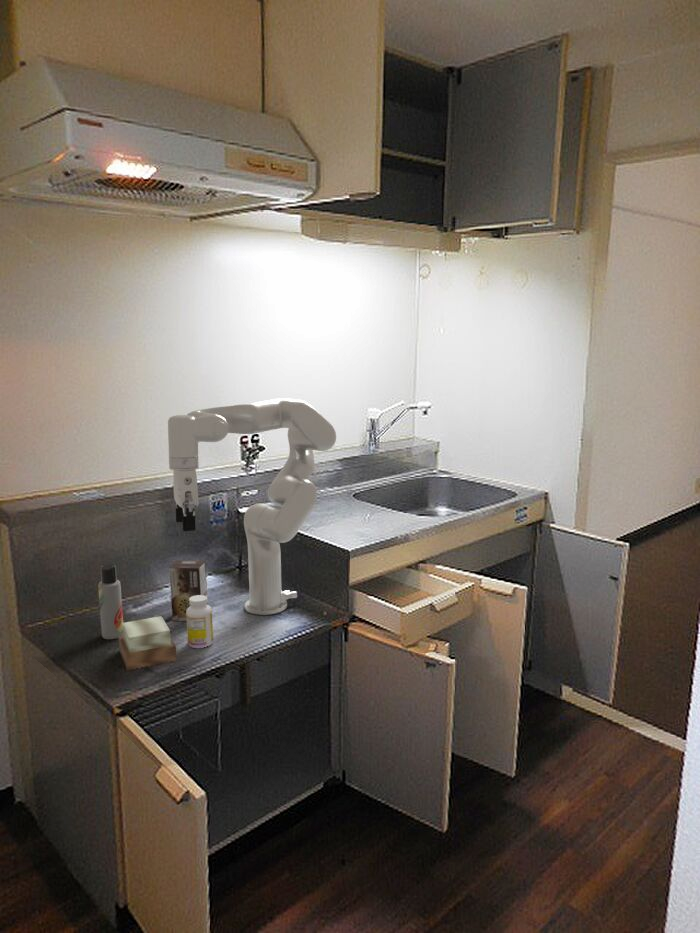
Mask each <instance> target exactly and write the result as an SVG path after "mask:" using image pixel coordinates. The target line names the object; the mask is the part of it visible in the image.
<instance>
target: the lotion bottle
mask: <svg viewBox="0 0 700 933" xmlns="http://www.w3.org/2000/svg"><path fill="white" fill-rule="evenodd" d="M116 568H117V567H116V565H115V564H113V563H106V564H103V565H101V566H100V578H101V581H100V582H98V584H97V586H98V599H99V600H98V602H99V603H98V604H99V611H100V612H99V614H100V628H101V636H102V638H103V639H105V640H117V639H119V637H121V636H123V628H122V623H124V617H123V615H124V614H123V601H122V586H121V581H120V580H119V579H118V577H117V569H116Z"/></svg>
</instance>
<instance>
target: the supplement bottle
mask: <svg viewBox="0 0 700 933" xmlns="http://www.w3.org/2000/svg"><path fill="white" fill-rule="evenodd" d="M207 602H208V595H207V596H204V595H196V596H192V597H190V598H189V604H190V607H188V609H187V610H186V619H187V621H186V632H187V644H188V647H190V648H194V649H204V647H205V648H207V646H208V647H210V646H211V645H212V644H213V643H214V630H213V629H214V626H213V625H214V624H213V611H212V607H211V606H210V605H209V604H208V605H207Z"/></svg>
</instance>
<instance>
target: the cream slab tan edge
mask: <svg viewBox="0 0 700 933" xmlns="http://www.w3.org/2000/svg"><path fill="white" fill-rule="evenodd" d="M122 628H123V635H122V636H121V637H119V638H118V647H119V648H118V651H119V653H120V655H121V658H122V660H123V664H124V667H125V668H126V671H127V670H129V671H133V670H137V669H136V668H138V669H142V668H141V667H143V668H146V667H145V666H148V667H151V666H150V665H153V666H156V665H155V664H158V665H161V664H160V663H163V664H165V663H164V662H168V663H171V662H170V661H173V662H176V661H175V660H177V647H176V646H177V645H176V643H175V642H174V640H173V639H172V637H171V630H170V628H169V626H168V624H167V623H166V621H165V619H164V618H163V616H161V615H159V616H154V617H149V618H143V619H138V620H131V621H127V622H126V621H125V622H123V623H122ZM132 669H133V670H132Z"/></svg>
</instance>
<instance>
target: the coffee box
mask: <svg viewBox="0 0 700 933" xmlns="http://www.w3.org/2000/svg"><path fill="white" fill-rule="evenodd" d="M206 568H207V567H206V561H205V560H175V561H174V562H173V563H172V564H171V566H169V568H168V573H169V585H170V601H171V615H172V616H171V617H172V618H171V619H172V621H174V622H176V621H177V622H178V621H179V622H180V621H181V622H187V619H186V610H187V609H188V607H190V604H189V598H190V597H192V596H196V595H204V596H207V597H208V587H207V586H208V584H207V569H206ZM207 605H209V603H208V602H207Z"/></svg>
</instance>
